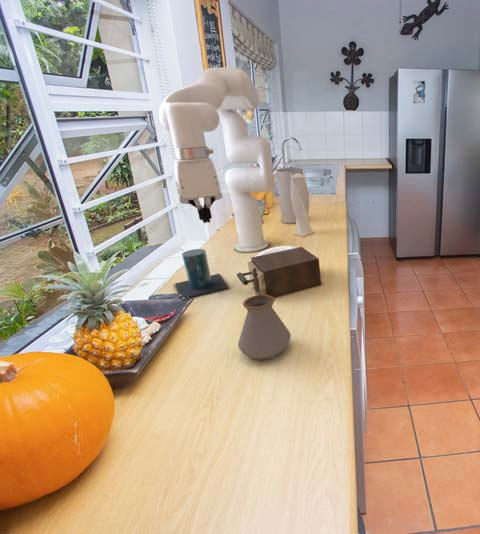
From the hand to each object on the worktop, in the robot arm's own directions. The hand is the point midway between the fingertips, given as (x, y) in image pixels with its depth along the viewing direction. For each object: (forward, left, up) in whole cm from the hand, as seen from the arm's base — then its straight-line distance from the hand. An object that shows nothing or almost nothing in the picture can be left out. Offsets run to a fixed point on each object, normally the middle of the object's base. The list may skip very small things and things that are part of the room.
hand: (206, 221), depth 108 cm
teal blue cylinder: (-9, -4, -22) cm, 24 cm away
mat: (-9, -4, -23) cm, 25 cm away
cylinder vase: (-66, +49, -23) cm, 85 cm away
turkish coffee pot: (+33, +3, -23) cm, 40 cm away
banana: (-14, +24, -23) cm, 36 cm away
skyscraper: (-42, +44, -23) cm, 65 cm away
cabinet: (+5, +19, -23) cm, 30 cm away
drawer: (+5, +15, -22) cm, 27 cm away
